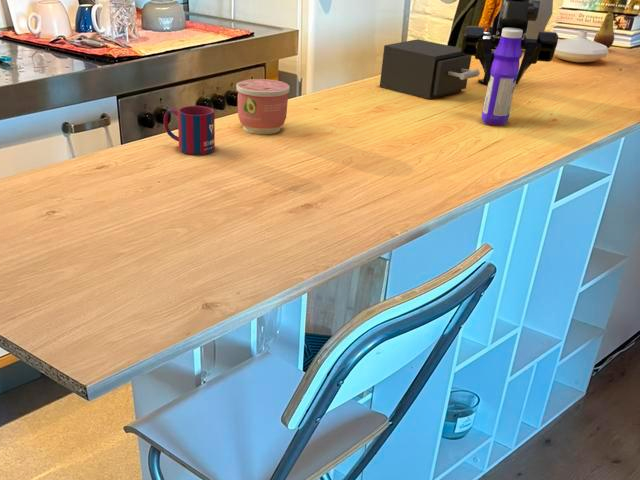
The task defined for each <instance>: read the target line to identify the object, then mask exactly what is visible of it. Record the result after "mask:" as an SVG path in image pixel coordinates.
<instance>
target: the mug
mask: <svg viewBox="0 0 640 480" xmlns="http://www.w3.org/2000/svg"><path fill="white" fill-rule="evenodd" d="M170 113H172V114H174V115H175V116H177V128H178V129H177V131H178V132H177V133H178V135H175V133H173V132H172V131H171V129H170V127H169V123H168V121H169V120H168V118H169V114H170ZM215 115H216V113H215V109H214V108H212V107H209V106H204V105H186V106H182V107H180V108H178V109H174V108H173V109H172V108H171V109H168V110H166V111H165V113H164V115H163V126H164V129H165V130H164V131H165V133H167V135H168V136H169V137H170V138H172V140H174V141H176V142H178V150H179V152H181V153H183V154H186V155H193V156H202V155H208V154H211V153H213V152H214V151H215V146H216V144H215V143H216V141H215V136H216V135H215V134H216V133H215V127H216V126H215V124H216V123H215V121H216V120H215V117H216V116H215Z"/></svg>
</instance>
